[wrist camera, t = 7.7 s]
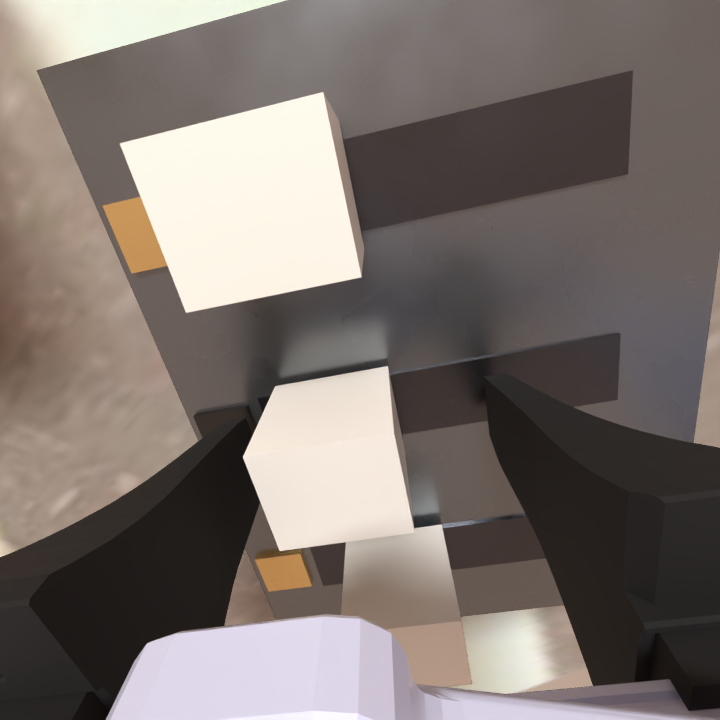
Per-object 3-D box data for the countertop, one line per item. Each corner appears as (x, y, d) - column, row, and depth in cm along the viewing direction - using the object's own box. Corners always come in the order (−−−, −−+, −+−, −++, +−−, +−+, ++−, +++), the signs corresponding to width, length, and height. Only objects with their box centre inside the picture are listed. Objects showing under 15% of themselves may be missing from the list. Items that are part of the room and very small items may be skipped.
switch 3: (441, 524, 15) (461, 620, 12) (451, 582, 16) (471, 683, 13) (346, 537, 15) (339, 634, 12) (362, 593, 16) (360, 694, 13)
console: (698, -78, 10) (782, -142, 8) (642, 550, 18) (676, 597, 16) (89, 87, 12) (29, 68, 10) (291, 593, 20) (282, 641, 18)
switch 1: (338, 119, 10) (323, 91, 7) (364, 247, 11) (361, 277, 8) (199, 153, 10) (119, 143, 7) (238, 274, 11) (185, 312, 8)
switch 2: (387, 366, 12) (394, 432, 9) (404, 448, 13) (414, 532, 10) (275, 386, 13) (243, 457, 9) (300, 464, 14) (279, 551, 11)
